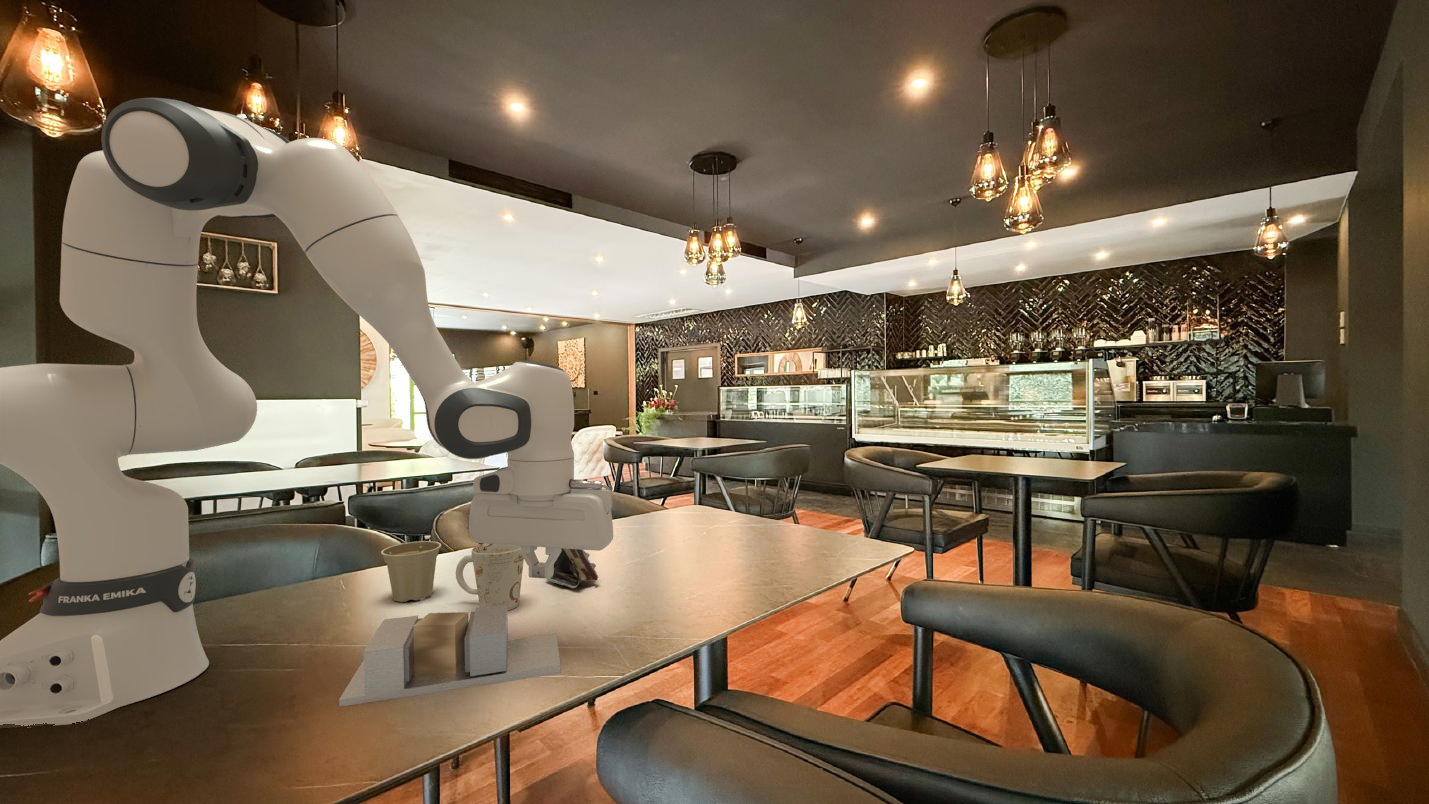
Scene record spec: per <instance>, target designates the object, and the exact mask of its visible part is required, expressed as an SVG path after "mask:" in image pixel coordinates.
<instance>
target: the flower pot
mask: <svg viewBox="0 0 1429 804" xmlns="http://www.w3.org/2000/svg"><path fill="white" fill-rule="evenodd" d="M441 547H442V543H440V542H438V541H429V540H427V541H426V540H422V541H421V540H419V541H410V542H402V543H399V544H394V545H391V546H389V547H386V548H384V549H382V550H381V551H380V555H381V556H383V559H384V562H385V563H386V566H387V571H388V572H387V573H388V576H389V577H388V578H389V583H390V588H391V593H392V599H393V600H394V601H396V602H401V603H405V602H408V601H410V600H411V601H412V600H413V601H419V600H422V599H425V598H428V597H430V596H431V595H432V593H433V591H434V579H435V573H436V564H437V557H438V555H439V552H440V551H439V550H440V549H441Z"/></svg>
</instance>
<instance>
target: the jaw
mask: <svg viewBox="0 0 1429 804" xmlns="http://www.w3.org/2000/svg"><path fill="white" fill-rule="evenodd" d="M469 615H470V616H469V623H468V627H467V631H466V635H465V639H464V641H465V672H470V676H476V675H482V674H489V673H495V672H501V671H506V662H507V646H508V640H509V624H508V620H509V619H508V611H507V605H499V606H491V607H483V608H480V607H476V608H475V611H471V612H470V614H469Z"/></svg>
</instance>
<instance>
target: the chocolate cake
mask: <svg viewBox="0 0 1429 804" xmlns="http://www.w3.org/2000/svg"><path fill="white" fill-rule="evenodd" d="M590 555H591V554H590V553H588V552H586V550H580V549H564V548H562V549H561V553H560V555H559V556H558V558H557V560H556V562H555V563H554V574H553V576H552V577H551V578H550V579H546V580H547V581H548V582H551V583H556V584H558V585H561V586H565V587H568V588H570V589H575V588H577V587H578V586H579V585H580V584H581V583H582V582H584V581H587V582H588V581H597V580H598V578H599V576H598V574H597V571H596V567H597V565H596V564H595V563H594V562H590V560H589V558H590Z"/></svg>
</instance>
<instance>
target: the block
mask: <svg viewBox="0 0 1429 804" xmlns="http://www.w3.org/2000/svg"><path fill="white" fill-rule="evenodd" d="M421 618H422V617H421ZM469 619H470V616H469V612H468V611H467V612H466V611H464V612H429V613H427V614H426V615H425V616H423V618H422V619H421V620H420V621H419V622H417V623H416V624H415V625H413V627H414V675H417V674H456V673H457V672H458V671H459V670H460V668H461V667H462V666H463V665H464V664H465V641H464V639H465V635H466V631H467V627H468V623H469Z"/></svg>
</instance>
